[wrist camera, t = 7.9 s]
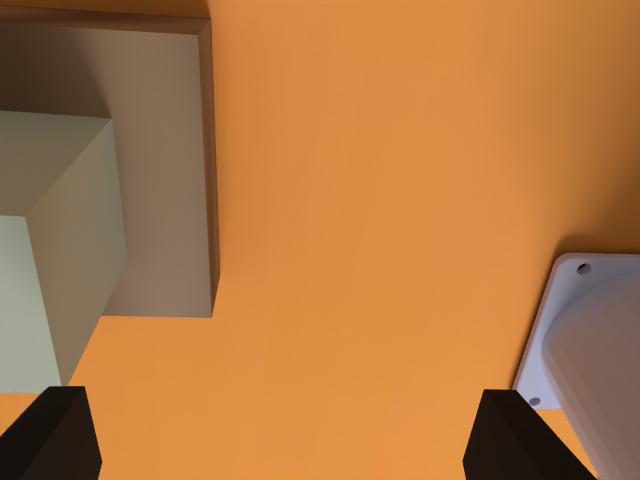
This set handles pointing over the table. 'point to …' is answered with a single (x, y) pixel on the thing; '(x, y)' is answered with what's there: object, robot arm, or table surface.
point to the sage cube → (55, 243)
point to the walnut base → (134, 136)
